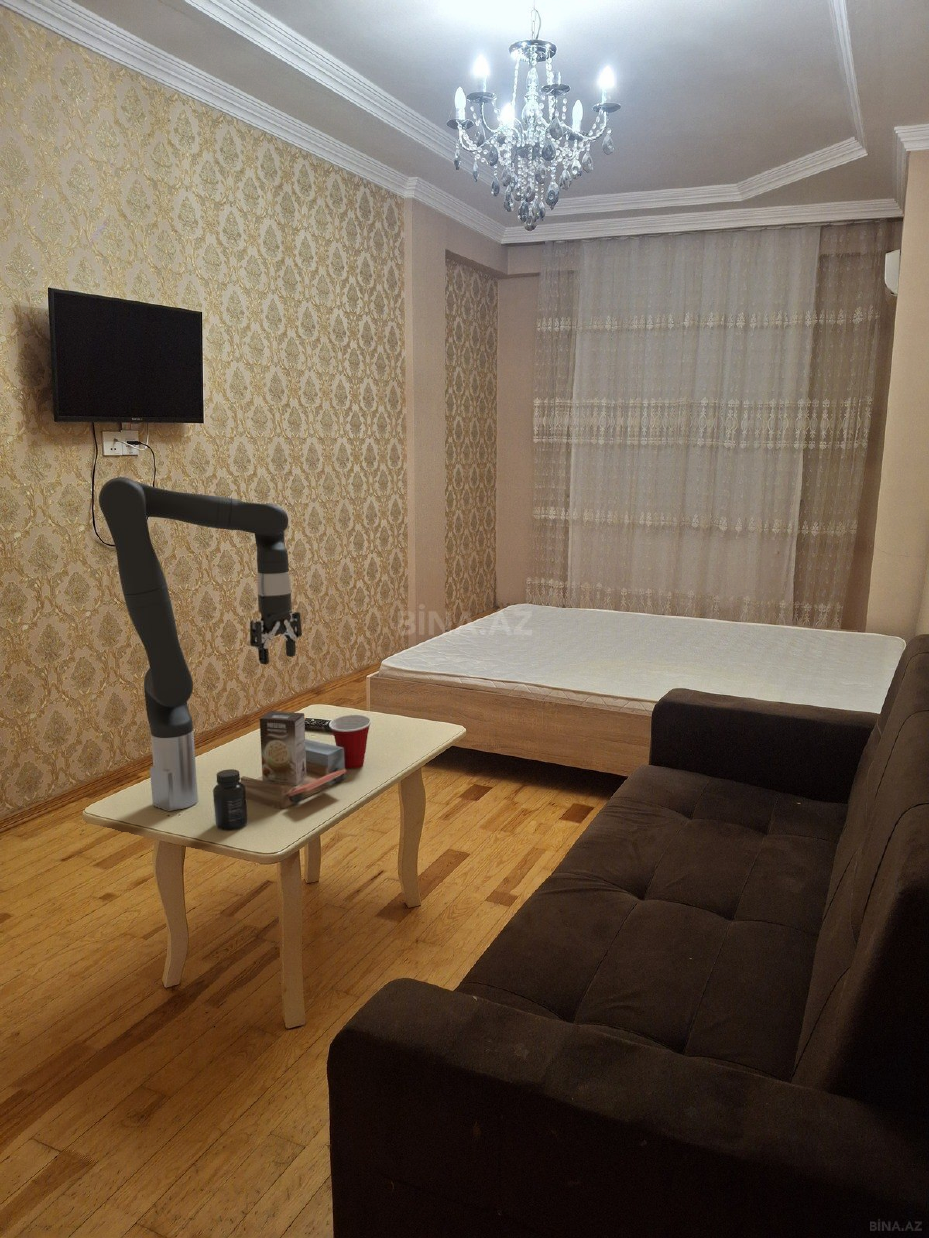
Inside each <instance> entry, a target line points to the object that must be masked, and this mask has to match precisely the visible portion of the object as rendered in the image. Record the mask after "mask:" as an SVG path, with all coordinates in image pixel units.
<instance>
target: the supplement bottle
mask: <svg viewBox="0 0 929 1238" xmlns="http://www.w3.org/2000/svg"><path fill="white" fill-rule="evenodd" d="M212 797H213V807H214V821H215V826H216V828H217V829H218V830H221V831H226V832H227V831H236V830H239V829H242V828H244V827H245V826H247V824H248V806H247V799H246V791H245V786H244V784H243V783H242V782H241V776H240V771H239V770H238V769H233V768H232V769H229V768H228V769H223V770H220V771H218V772H216V785H215V786H214V787H213V789H212Z"/></svg>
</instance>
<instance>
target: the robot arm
mask: <svg viewBox="0 0 929 1238" xmlns="http://www.w3.org/2000/svg"><path fill="white" fill-rule="evenodd" d="M99 491H100V492H99V495H98V505H99V507H100V511H101V513H102V515H103V517H104V520H105V522H106V524H107V528H108V530H109V533H110V535H111V539H112V541H113V545H114V547H115V548H114V549H115V553H116V557H117V558H116V560H117V566H118V567H117V568H118V573H119V574H118V575H119V581H120V585H121V586H120V587H121V589H122V590H121V591H122V594H123V598H124V599H123V600H124V601H125V606H126V609H127V612H128V615H129V618H130V621H131V623H132V625H133V626H134V629H135V631H136V632H137V635H138V638H139V640H140V641H141V643H142V645H143V648H144V650H145V653H146V657H147V660H148V666H149V667H148V670H147V671H146V672H145V675H144V678H143V679H144V681H143V690H144V700H145V701H144V702H145V708H146V710H145V711H146V717H147V721H148V724H149V728H150V729H149V730H150V738H151V739H150V740H151V750H152V751H151V752H152V753H151V754H152V762H153V763H152V766H150V767H149V773H150V774H149V776H150V787H151V788H150V789H151V799H152V807H154V806H156V807H155V808H157V807H158V809H160V808H162V809H161V810H165V811H167V812H173V811H175V810H176V811H177V810H181V809H186V808H190V807H192V806H194V805H195V804H196V803H198V802H199V794H198V781H197V780H198V777H197V768H196V767H197V766H196V751H195V737H194V726H193V718H192V716H191V713H190V710H189V706H188V701H189V699H191V697H192V694H193V691H194V690H193V689H194V682H193V677H192V675H191V672H190V670H189V667H188V665H187V662H186V659H185V656H184V654H183V650H182V647H181V643H180V640H179V637H178V636H179V635H178V631H177V624H176V619H175V614H174V609H173V605H172V600H171V595H170V592H169V588H168V584H167V580H166V577H165V574H164V571H163V567H162V565H161V562H160V561H159V558H158V556H157V553H156V551H155V549H154V546H153V542H152V540H151V536H150V529H149V524H148V518H160V519H168V520H173V521H179V522H182V523H183V522H184V523H187V524H190V525H191V524H192V525H196V526H201V527H206V528H212V529H218V530H219V529H220V530H228V531H240V532H244V533H245V532H246V533H251V534H254V538H255V546H256V566H257V569H256V571H257V579H256V589H257V603H258V605H257V607H258V612H259V613H260V615H261V616H260V620H251V621H250V622H249V635H250V636H249V639H250V641H249V643H250V647H252V648H253V647H255V648H257V652H258V662H259V663H260V664H261V665H269V663H270V655H269V648H268V646H269V644H270V642H271V641H272V640H273V639H274V637H276V636H279V635H283V637H284V638H285V639H286V640H285V653H286V655H285V656H287V657H289V658H290V657H291V658H292V657H295V656H296V652H297V647H296V641H297V639H298V638H299V637H302V635H303V634H302V633H303V631H302V621H301V620H302V619H301V613H300V612H298V611H292V610H293V609H292V607H293V606H292V588H291V576H290V571H289V570H290V568H289V556H288V555H289V553H288V549H287V547H286V544H285V541H286V540H285V531H286V530H287V528H288V526H289V516H288V513H287V512H286V510H284V509H283V508H282V507H281V506H279V505H277V504H275V503H271V502H269V503H267V502H266V503H259V502H258V503H257V502H247V501H243V500H240V499H236V498H230V497H226V496H225V497H224V496H218V495H217V496H216V495H211V494H209V495H208V494H202V493H201V494H199V493H190V492H183V491H182V492H181V491H175V490H169V489H164V488H160V487H155V486H151V485H148V484H146V483H145V484H144V483H141V482H138V481H135V480H133V479H131V478H128V477H124V476H123V477H122V476H119V477H113V478H111V479H109V480H107V481H106V482H105V483H104V484H103V485H102V486H101V489H100V490H99Z"/></svg>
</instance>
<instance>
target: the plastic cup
mask: <svg viewBox="0 0 929 1238" xmlns="http://www.w3.org/2000/svg"><path fill="white" fill-rule="evenodd" d="M371 724H372V718H371V717H369V716H367V715H364V714H346V715H342V716H338V717H335V718H334V719H332V720H330V721H329V724H328V726H329V728H330V729H331V732H332V735H333V737H334V741H335V746H339V747H343V748H344V762H345V769H346V770H347V769H349V770H351V769H353V770H354V769H358V768H361V767H363V766H364V763H365V756H366V750H367V744H368V743H367V741H368V735H369V731H370V726H371Z"/></svg>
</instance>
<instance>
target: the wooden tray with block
mask: <svg viewBox="0 0 929 1238" xmlns="http://www.w3.org/2000/svg"><path fill="white" fill-rule="evenodd" d="M305 749H306V777H305V778H304V779H303V780H302V781H301V782H300V783H299V784H298V785H297V786H296V785H284V784H274V783H268V782H264V781H262V776H260V777H257V778H252V777H248V776H246V775H245V776H244V775H243V776H240V782H242V783H243V784H244V786H245V791H246V800H248V801H252V802H255V803H259V804H263V805H267V806H270V807H273V808H277V809H281V810H284V809H285V808H288V807H289V806H292V805H293V804H297V803H299V802H300V801H302V800H305V799H306V798H308V797H310V796H312V795H314V794H316V793H318V792H320V791H322V790H324V789H326V788H328V787H330V786H333V785H335V784H336V783H340V782H342V781H343V780H345V779H346V772H345V773H343V774H341V775H340V776H338V777H336V778H334V779H332V780H330V781H328V782H326V783H323V784H321V785H319V786H317V787H315V788H313V789H311V790H309V791H305V792H302V793H298V794H295V795H292V796H289V792H292V791H294V790H296V789H298V788H300V787H302V786H304V785H306V784H309V783H311V782H313V781H315V780H317V779H319V778H321V777H323V776H326V775H328V774H331V773H334V772H337V771H340V770H343V769H346V768H345V762H344V748H343V747H339V746H336V745H333V744H329V743H324V742H320V741H315V740H311V739H308V738H305Z"/></svg>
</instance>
